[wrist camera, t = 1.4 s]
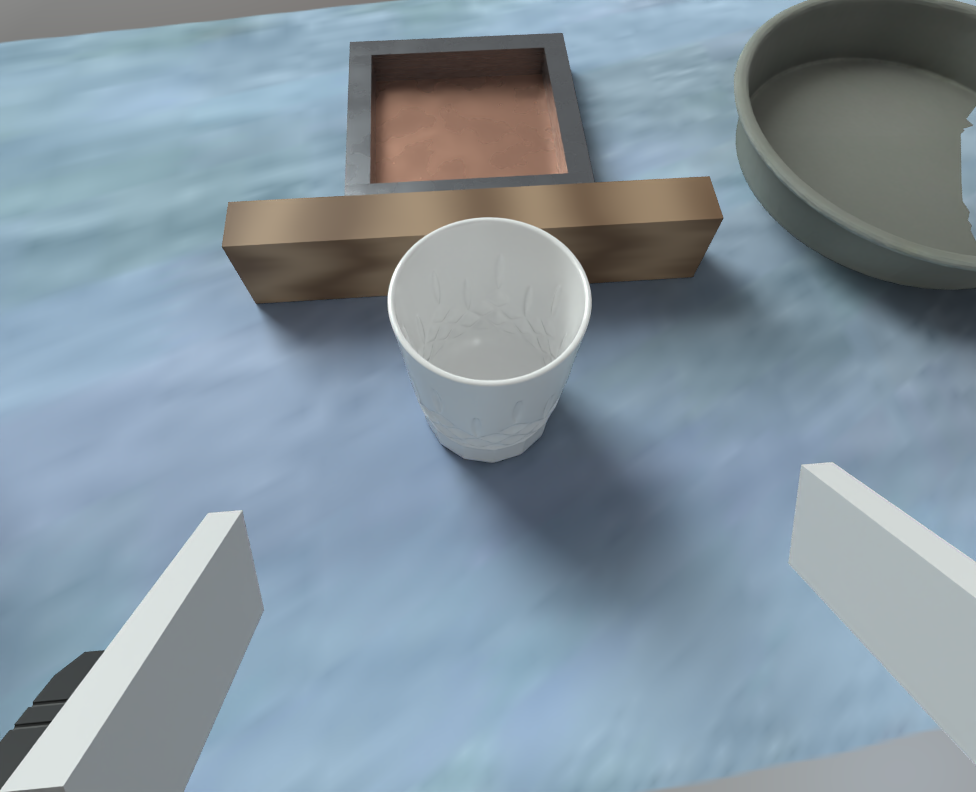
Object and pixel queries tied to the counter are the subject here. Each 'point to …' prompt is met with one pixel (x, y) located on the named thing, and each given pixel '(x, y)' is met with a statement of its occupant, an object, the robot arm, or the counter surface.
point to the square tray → (462, 115)
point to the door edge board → (411, 216)
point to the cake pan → (864, 133)
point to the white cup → (489, 331)
